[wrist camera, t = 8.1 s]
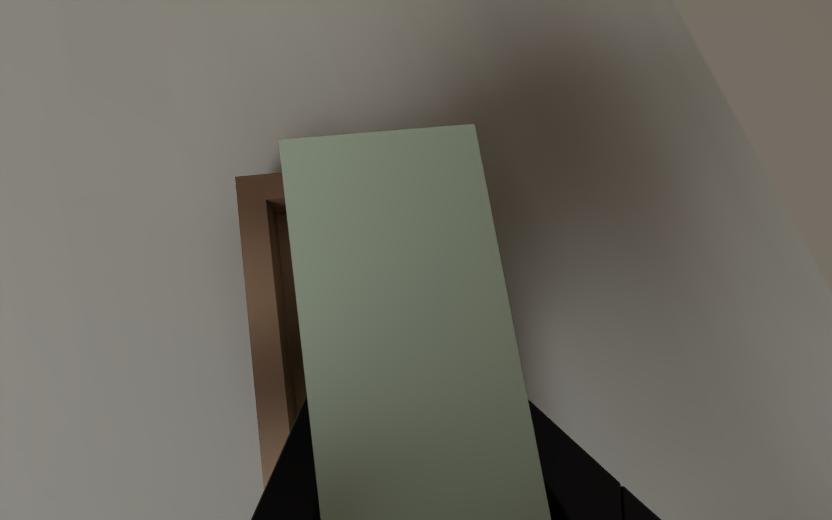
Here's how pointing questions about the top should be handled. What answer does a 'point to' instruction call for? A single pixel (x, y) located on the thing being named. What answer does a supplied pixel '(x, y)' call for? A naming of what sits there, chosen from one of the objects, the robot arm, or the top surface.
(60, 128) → the top surface
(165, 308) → the top surface
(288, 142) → the pale green rectangular block
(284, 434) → the brown wooden tray
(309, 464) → the robot arm
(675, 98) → the top surface
